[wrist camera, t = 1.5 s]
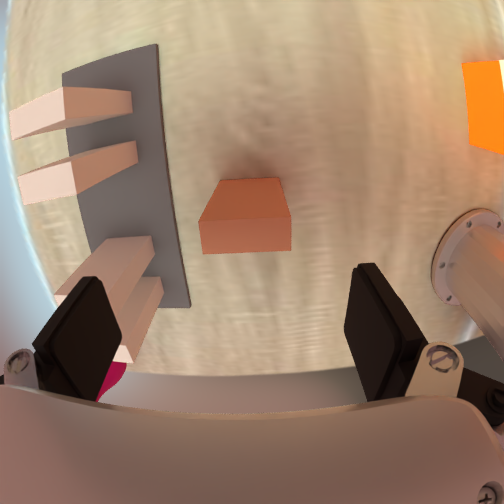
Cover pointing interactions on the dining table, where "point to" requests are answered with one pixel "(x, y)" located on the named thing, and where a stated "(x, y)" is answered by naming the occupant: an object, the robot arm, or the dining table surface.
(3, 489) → the robot arm
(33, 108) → the domino
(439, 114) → the dining table surface
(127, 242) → the domino
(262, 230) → the domino
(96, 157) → the domino
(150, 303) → the domino
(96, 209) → the mat
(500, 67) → the orange juice
